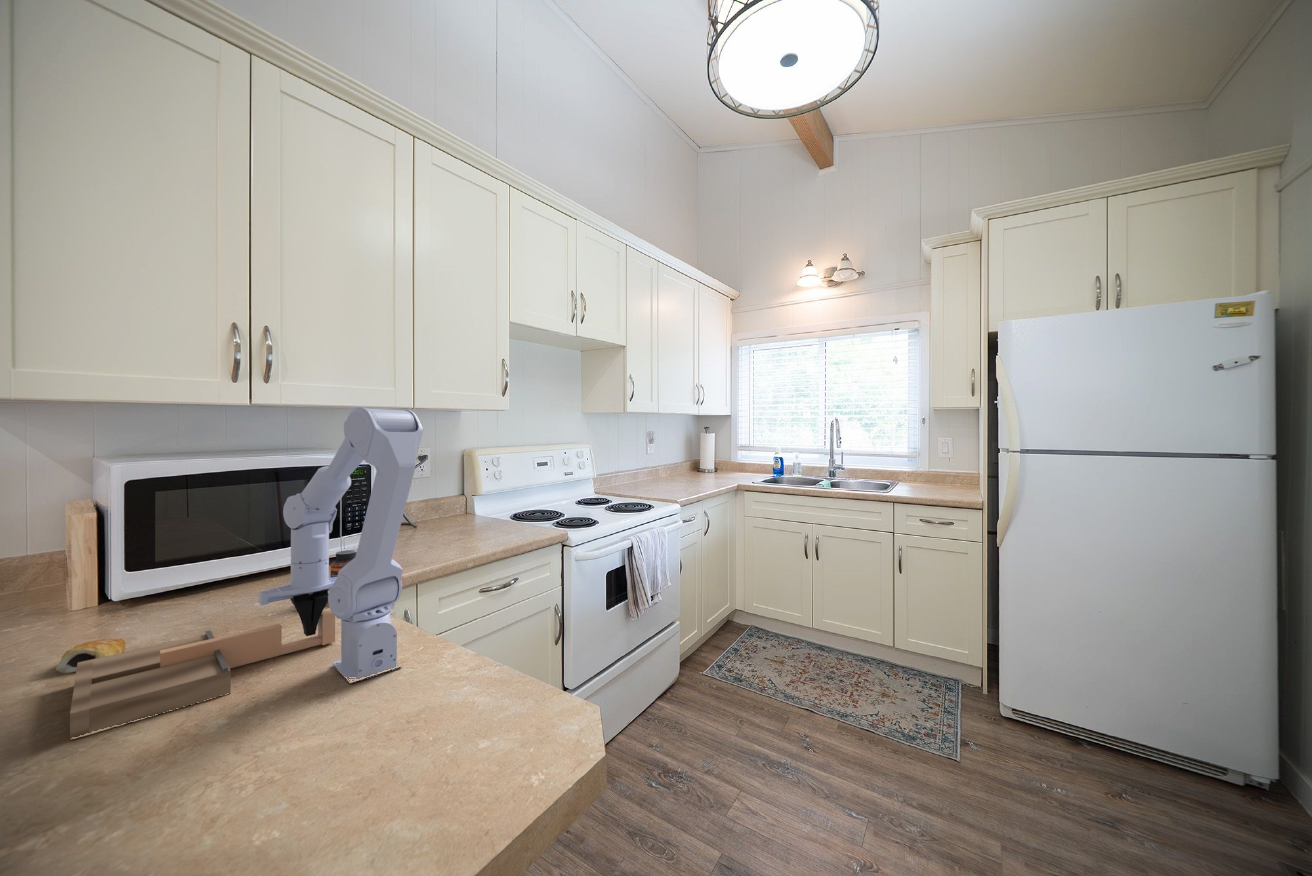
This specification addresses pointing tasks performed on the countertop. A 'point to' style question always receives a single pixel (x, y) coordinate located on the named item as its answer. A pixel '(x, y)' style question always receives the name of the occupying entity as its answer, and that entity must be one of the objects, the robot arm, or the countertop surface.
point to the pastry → (89, 653)
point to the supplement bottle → (341, 561)
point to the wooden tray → (143, 685)
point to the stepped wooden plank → (250, 644)
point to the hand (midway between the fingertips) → (309, 633)
